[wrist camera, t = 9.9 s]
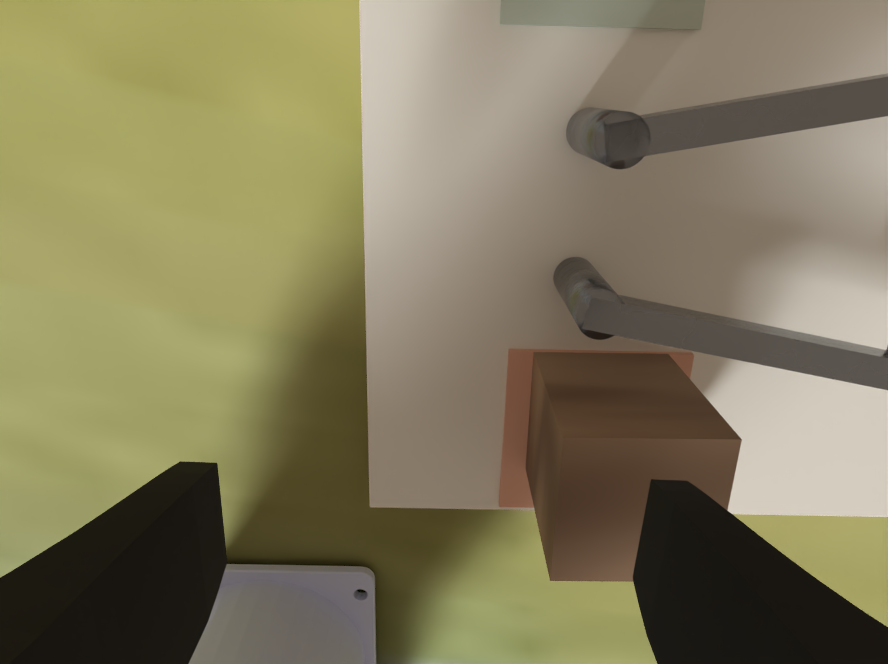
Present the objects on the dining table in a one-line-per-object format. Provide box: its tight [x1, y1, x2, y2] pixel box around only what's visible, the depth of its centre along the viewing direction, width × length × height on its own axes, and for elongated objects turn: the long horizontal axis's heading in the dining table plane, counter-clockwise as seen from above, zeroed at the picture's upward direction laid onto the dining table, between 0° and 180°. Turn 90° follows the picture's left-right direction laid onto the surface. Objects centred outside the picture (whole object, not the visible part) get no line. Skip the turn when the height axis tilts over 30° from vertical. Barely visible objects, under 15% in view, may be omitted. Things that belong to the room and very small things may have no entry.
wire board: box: [359, 0, 888, 517], centre depth 18 cm, size 20×18×2 cm
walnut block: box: [526, 352, 742, 581], centre depth 17 cm, size 4×4×5 cm
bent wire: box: [553, 73, 888, 390], centre depth 16 cm, size 8×9×4 cm
